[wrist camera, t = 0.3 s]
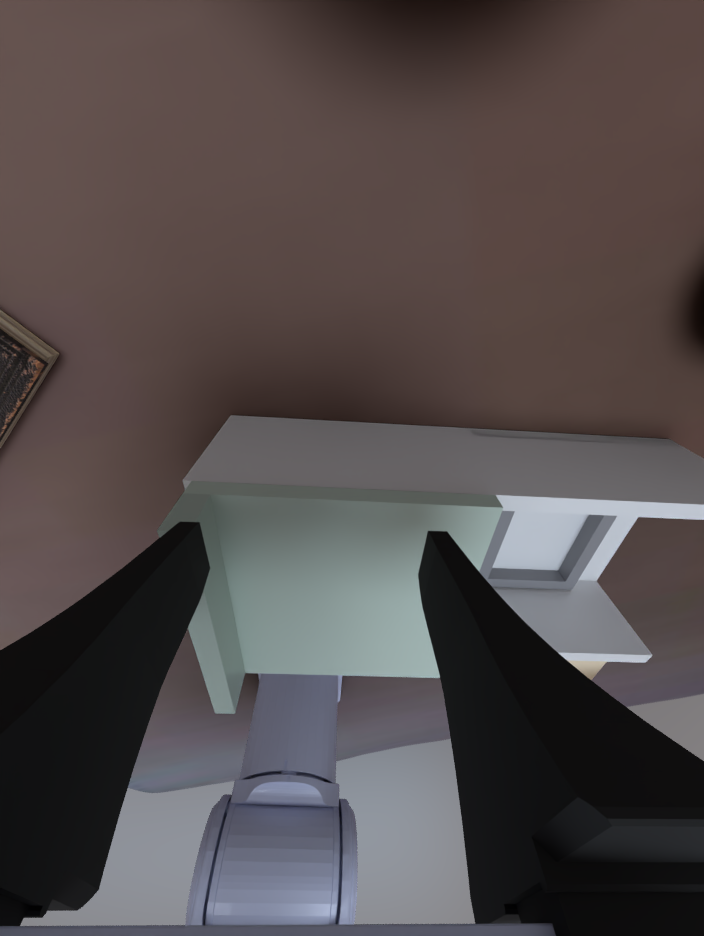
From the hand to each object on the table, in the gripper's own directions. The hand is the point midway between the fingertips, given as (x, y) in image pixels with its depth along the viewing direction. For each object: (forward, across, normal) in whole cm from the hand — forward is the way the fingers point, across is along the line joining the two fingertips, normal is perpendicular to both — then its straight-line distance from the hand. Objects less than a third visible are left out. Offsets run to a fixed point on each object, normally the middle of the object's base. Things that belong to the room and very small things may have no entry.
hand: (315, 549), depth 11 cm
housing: (+10, -7, +6) cm, 13 cm away
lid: (+3, -1, +6) cm, 7 cm away
